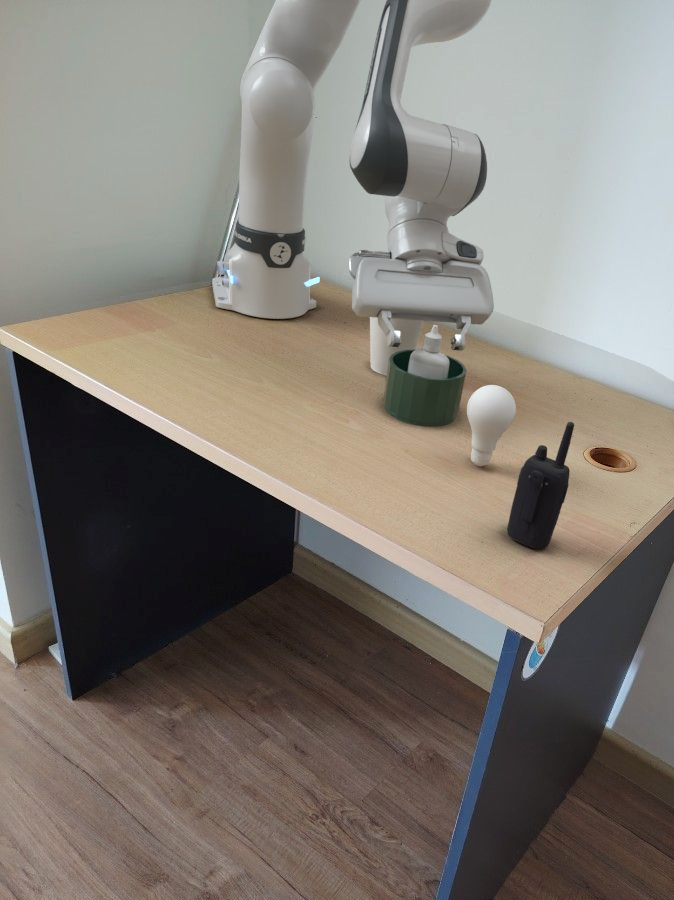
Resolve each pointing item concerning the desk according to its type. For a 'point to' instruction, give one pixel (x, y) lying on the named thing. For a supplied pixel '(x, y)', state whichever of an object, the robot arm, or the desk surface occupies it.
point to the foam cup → (380, 347)
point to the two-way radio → (540, 495)
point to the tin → (422, 392)
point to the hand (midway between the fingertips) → (426, 347)
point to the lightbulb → (489, 420)
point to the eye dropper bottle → (429, 358)
